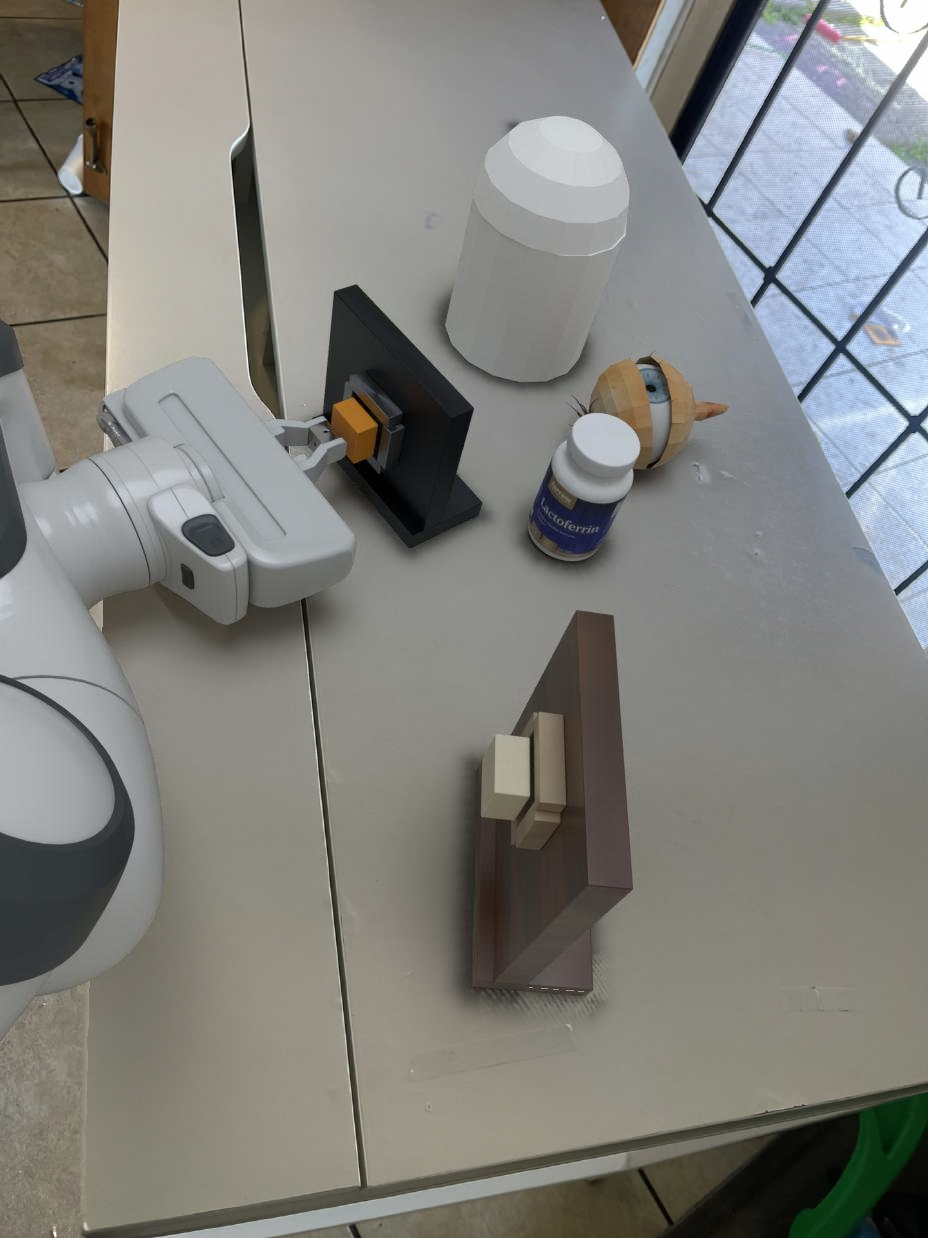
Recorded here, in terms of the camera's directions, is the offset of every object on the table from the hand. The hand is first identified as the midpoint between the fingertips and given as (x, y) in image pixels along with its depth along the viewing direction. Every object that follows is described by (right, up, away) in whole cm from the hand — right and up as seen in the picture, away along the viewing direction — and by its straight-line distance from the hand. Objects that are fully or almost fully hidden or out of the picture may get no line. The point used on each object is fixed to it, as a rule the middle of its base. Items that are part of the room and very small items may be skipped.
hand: (335, 435), depth 67 cm
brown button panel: (+13, -30, -8) cm, 33 cm away
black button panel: (+3, -1, +9) cm, 9 cm away
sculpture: (+24, +2, +16) cm, 29 cm away
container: (+14, +14, +21) cm, 29 cm away
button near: (+11, -22, -19) cm, 31 cm away
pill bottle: (+17, -6, +9) cm, 20 cm away
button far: (+1, 0, +2) cm, 2 cm away
